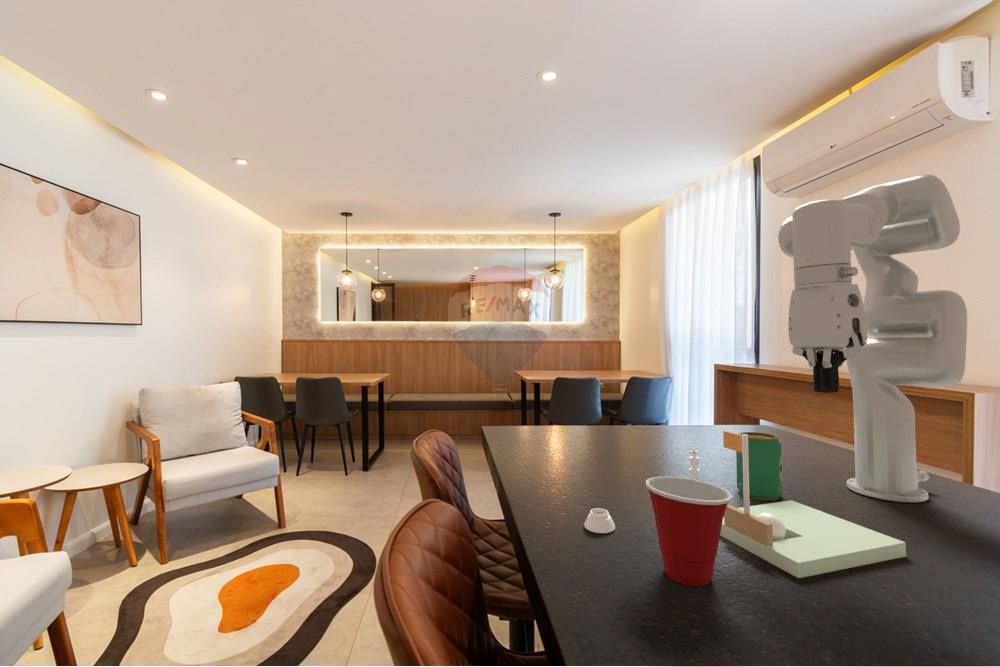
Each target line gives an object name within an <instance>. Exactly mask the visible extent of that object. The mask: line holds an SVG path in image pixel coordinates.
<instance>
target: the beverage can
mask: <svg viewBox="0 0 1000 667" xmlns="http://www.w3.org/2000/svg"><path fill="white" fill-rule="evenodd" d="M738 434H739V435H742V434H747V435H748V457H749V497H750V499H753V498H754V499H753V500H759V501H767V500H772V501H777V500H780V498H781V496H782V494H783V467H782V466H783V464H782V463H783V462H782V460H783V459H782V443H781V442H780V440H779V439H778V436H777V435H774V434H771V433H767V432H757V431H745V432H739V433H738ZM735 454H736V456H735V457H736V461H735V462H736V487H737V490H738V491H739V494H740V495H742V496H743V457H742V452H738V451H735Z"/></svg>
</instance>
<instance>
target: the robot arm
mask: <svg viewBox="0 0 1000 667" xmlns="http://www.w3.org/2000/svg"><path fill="white" fill-rule="evenodd" d="M791 215H792V216H790V217H788V218H786V219H785V221H783V223H782V225H781V226H780V228H779V231H778V235H777V239H778V241H777V242H778V245H779V248H780V250H781V252H782V253H783V254H784V255H786V256H787V257H789V258H793V260H792V261H793V281H794V282H793V284H794V289H793V290H791V296H790V300H789V308H788V323H787V324H788V330H787V332H788V339H789V340H788V341H789V344H790V345H791V346H792V350H791V351H792V353H793V354H794V355H797V356H799V357H804V359H805V360H806V361H807V363H808V366H809V367H811V368H812V374H813V391H814V392H817V393H822V394H826V393H827V394H830V393H838V392H839V390H840V388H839V386H840V377H839V376H840V373H839V372H840V371H839V370H840V369H839V368H842V367H843V364H844V362H845V361H846V366H847V370H848V374H849V378H850V385H851V390H852V391H851V392H852V401H853V403H852V404H853V436H854V437H853V438H854V439H853V440H854V441H853V442H854V468H855V469H854V470H855V477H852V478H851V477H850V478H848V479H847V480H846V487H847V488H848V489H849V490H850V491H853V492H854V493H857V494H860V495H864V496H867V497H871V498H874V499H879V500H884V501H891V502H896V503H897V502H898V503H899V502H900V503H924V502H926V501H928V500H929V492H928V491H927V490H925V489H923V488H921V487H919V483H920V482H925V481H929V479H930V475H929V474H928V472H927V471H925V470H920V471H918V470H917V469H918V468H917V442H916V440H917V439H916V412H915V408H914V405H913V403H912V401H911V400H910V399H909V398H908V397H907V396H906V395H905V394H904V393H903V392H902V391H901V390H900V389H899V388H898V387H897V386H911V387H929V388H931V387H933V388H935V387H936V388H948V387H950V388H951V387H954V386H956V385H958V384H959V383H961V382H962V380H963V378H964V376H965V370H966V361H967V360H966V359H967V358H966V356H967V354H966V353H967V336H968V335H967V334H968V310H967V307H966V306H967V305H966V302H965V301H964V298H963V297H962V296H961V295H960V294H959V293H957V292H956V291H953V290H946V289H944V290H943V289H942V290H940V289H939V290H936V289H935V290H923V291H922V290H921V291H918V284H919V283H918V282H919V276H918V275H917V273H916V272H915V271H914V270H913V269H912V268H910V267H909V266H908V265H907V264H905V263H903V262H902V261H901V260H900V261H899V260H898V259H895V258H893V257H892V256H894V255H903V254H910V253H917V252H926V251H932V250H941V249H945V248H947V247H950V246H951V245H953V244H954V243H955V242H956V241H957V240H958V239H959V235H960V231H961V230H960V229H961V224H960V219H959V216H958V213H957V210H956V207H955V204H954V202H953V200H952V196H951V194H950V192H949V190H948V188H947V185H945V183H944V182H943V180H941V179H940V178H939V177H937V176H935V175H932V174H921V175H916V176H911V177H908V178H904V179H899V180H895V181H890V182H887V183H886V182H885V183H881V184H877V185H872V186H871V187H870V186H869V187H867V188H864V189H862V190H860V191H859V192H856V193H854V194H852V195H849V196H847V197H843V198H840V199H836V198H835V199H834V198H833V199H821V200H815V201H810V202H807V203H805V204H802V205H800V206H798V207H796V208H795V209H794V211H793V212H792V214H791ZM851 251H854V255H855V257H856V260H857V263H858V264H859V265H858V266H859V267H860V269H861V271H862V273H863V275H864V277H865V278H864V279H865V281H866V283H865V284H866V286H865V291H864V298H863V297H862V294H861V291H860V288H859V285H858V284H853V278H852V277H854V276H857V275H858V273H859V270H858V267H856V266H853V267H852V259H851V258H852V257H851V253H852V252H851ZM868 336H871V338H868Z"/></svg>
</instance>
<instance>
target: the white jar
mask: <svg viewBox="0 0 1000 667" xmlns="http://www.w3.org/2000/svg"><path fill="white" fill-rule="evenodd" d="M583 525H584V529H586V530H588V531H589V532H591V533H594V534H599V535H600V534H608V533H609V534H610V533H612V532H613V531H615V530H616V525H615V522H614V520H613V518H612V517H611V514H610V513H609V510H607V509H605V508H600V507H599V508H597V507H596V508H592V509H590V511H589V513H588V515H587V517H586V519H585V521H584V524H583Z"/></svg>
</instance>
